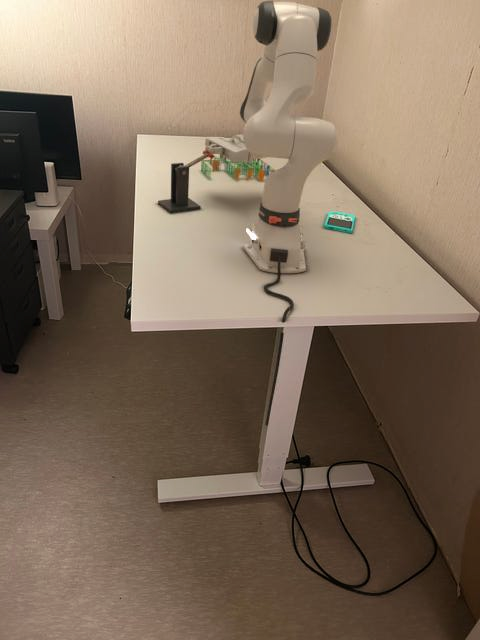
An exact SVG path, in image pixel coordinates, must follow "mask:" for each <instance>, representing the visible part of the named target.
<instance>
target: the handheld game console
mask: <svg viewBox="0 0 480 640" xmlns="http://www.w3.org/2000/svg"><path fill="white" fill-rule="evenodd" d="M355 221H356V215H355V214H350V213H346V212H345V213H344V212H340V211H329V212H328V214H327V217H326V220H325V222H324V226H323V228H324V229H326V230H331V231H337V232H341V233H346V234H353V229H354V226H355V225H354V224H355Z"/></svg>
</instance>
